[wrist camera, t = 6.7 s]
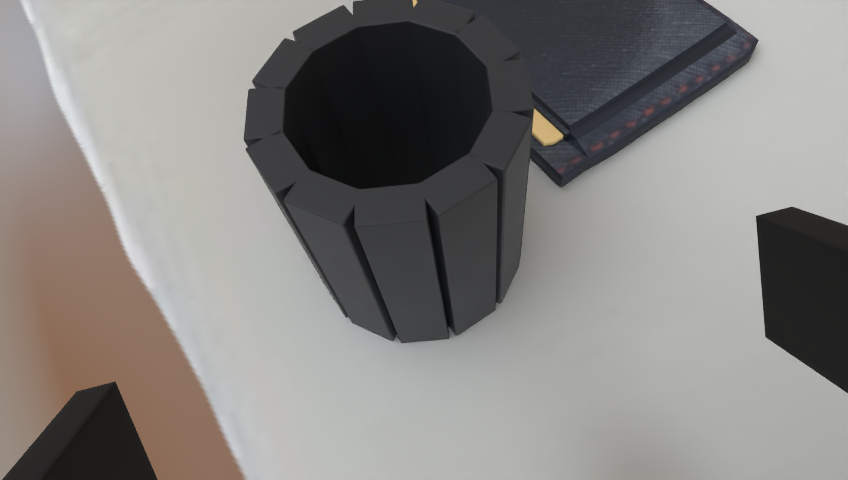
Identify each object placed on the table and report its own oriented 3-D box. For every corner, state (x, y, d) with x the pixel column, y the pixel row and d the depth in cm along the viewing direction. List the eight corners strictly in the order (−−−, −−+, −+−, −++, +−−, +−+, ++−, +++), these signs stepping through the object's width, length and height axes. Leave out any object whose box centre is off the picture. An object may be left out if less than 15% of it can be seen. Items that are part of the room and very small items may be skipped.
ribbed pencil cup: (380, 142, 35) (335, -30, 25) (548, 203, 33) (574, 37, 22) (285, 292, 32) (188, 161, 21) (466, 376, 29) (454, 271, 19)
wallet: (777, 30, 34) (554, 175, 31) (763, 56, 36) (551, 195, 33) (540, -137, 42) (350, -36, 40) (539, -111, 44) (355, -12, 41)
